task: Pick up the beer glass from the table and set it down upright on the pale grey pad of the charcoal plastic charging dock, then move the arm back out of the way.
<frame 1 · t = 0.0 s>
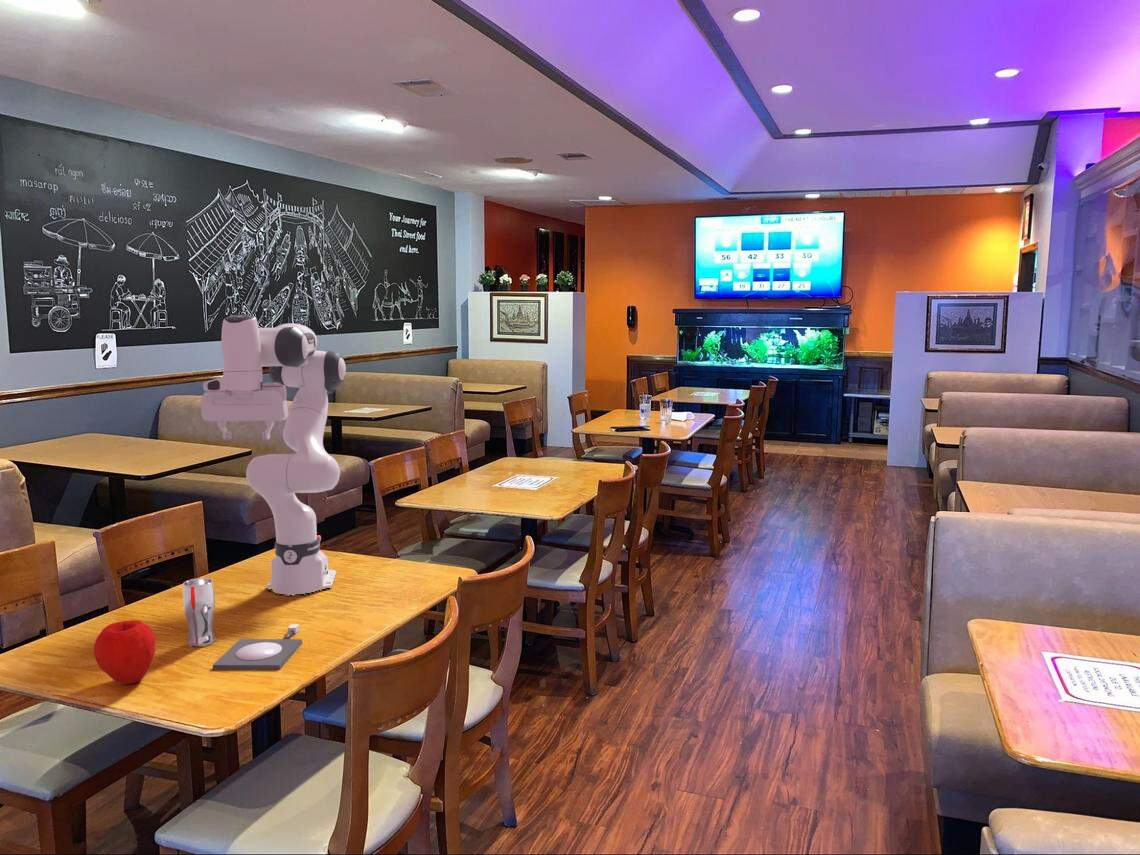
hand: (246, 439, 207), 48 cm above the table, tool pointing down, fingers open, 8 cm apart
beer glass: (202, 643, 205), on the table
charging dock: (259, 655, 196), on the table
apple: (128, 682, 183), on the table
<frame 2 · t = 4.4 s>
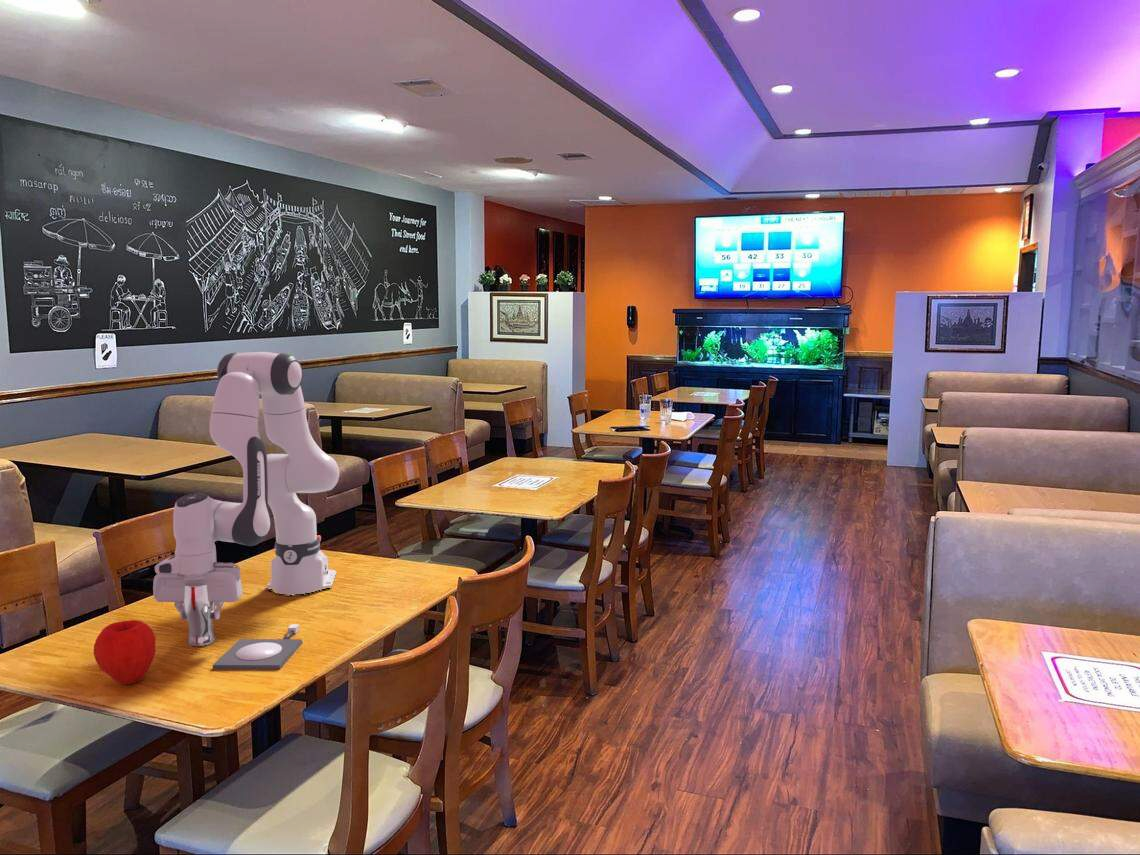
hand: (200, 618, 204), 6 cm above the table, tool pointing down, fingers closed on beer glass, 6 cm apart
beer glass: (202, 642, 205), on the table, touching gripper
everything else where it was.
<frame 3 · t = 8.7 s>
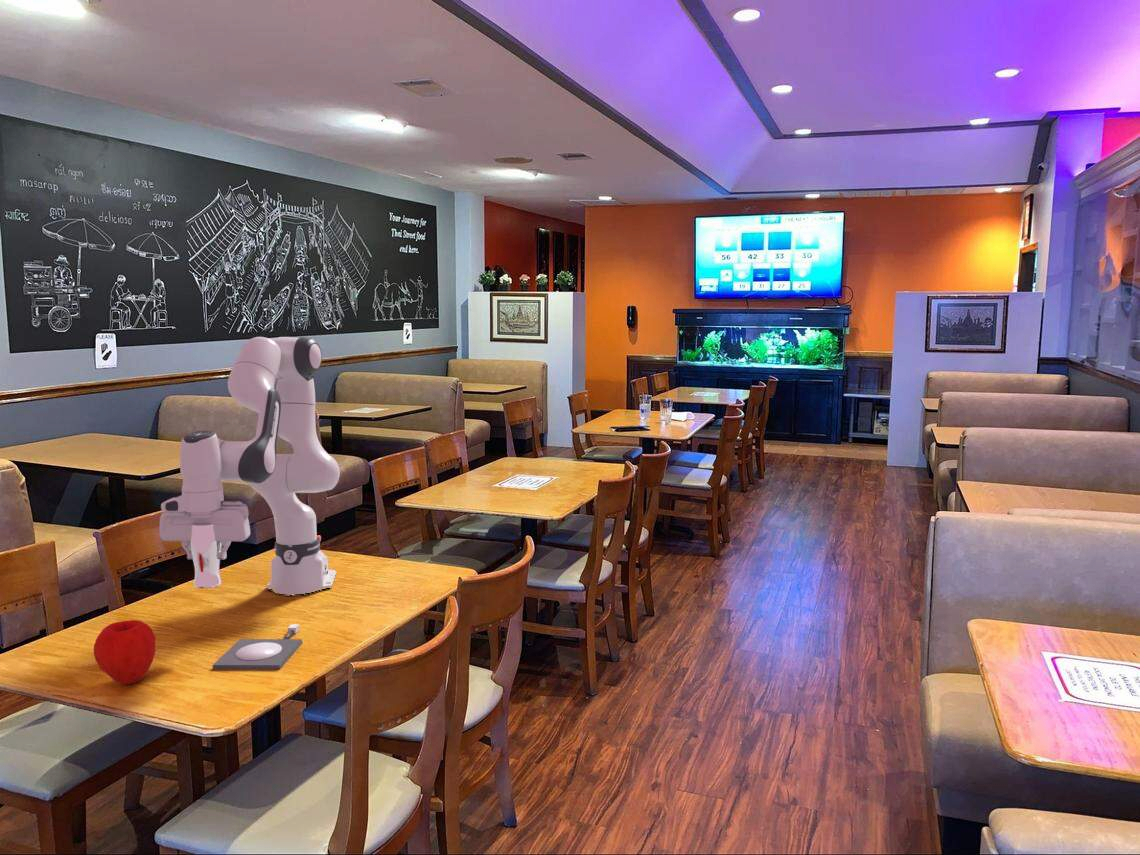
hand: (207, 558, 200), 21 cm above the table, tool pointing down, fingers closed on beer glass, 6 cm apart
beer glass: (207, 585, 200), point 15 cm above the table, touching gripper
everything else where it was.
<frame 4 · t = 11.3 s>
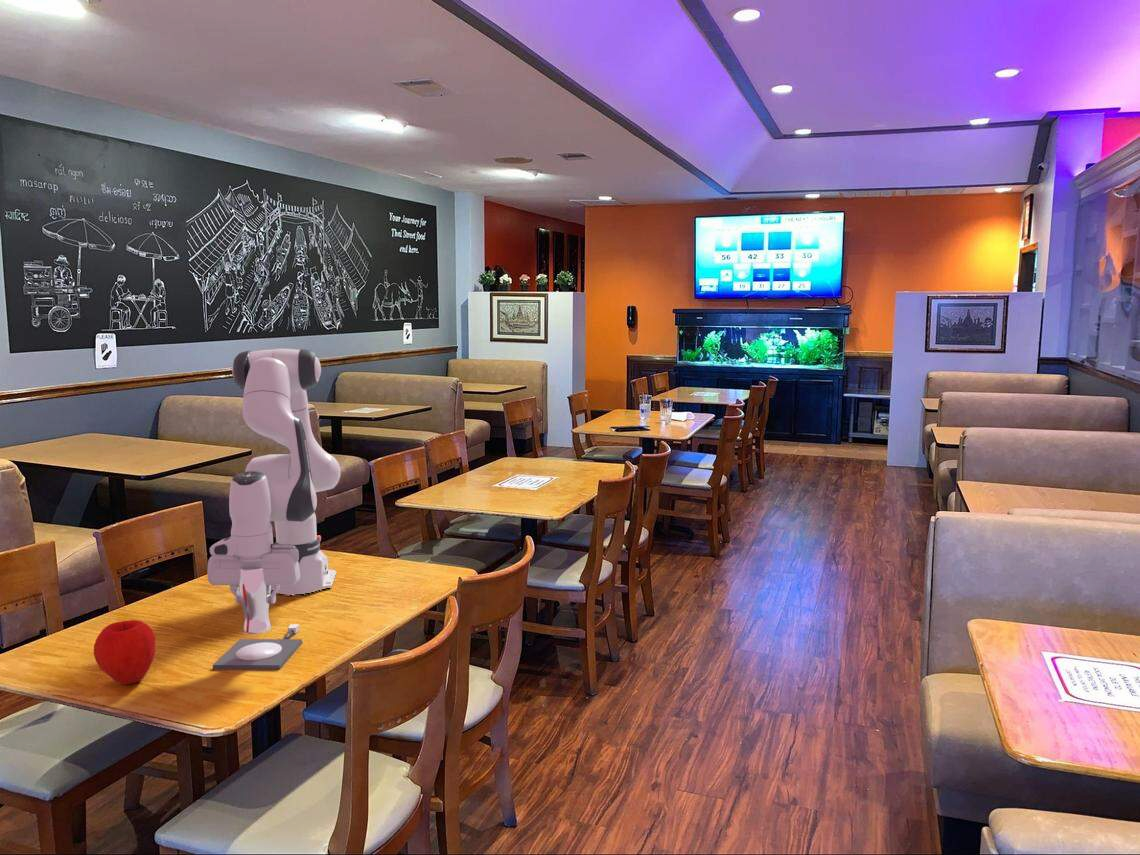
hand: (256, 602, 194), 13 cm above the table, tool pointing down, fingers closed on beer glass, 6 cm apart
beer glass: (257, 630, 195), point 6 cm above the table, touching gripper
everything else where it was.
when the fingers open (8 cm above the table, at t = 13.3 s): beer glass moves 2 cm, resting on charging dock.
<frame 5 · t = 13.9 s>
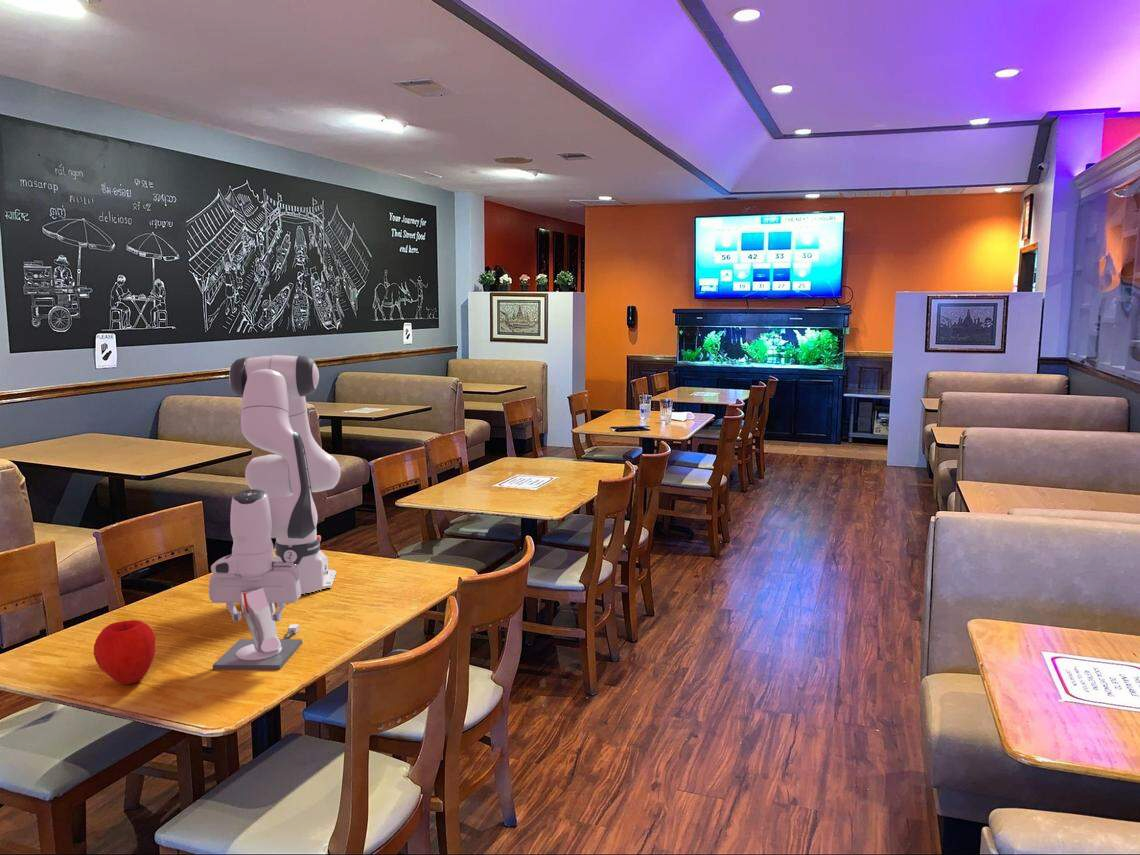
hand: (257, 620, 195), 8 cm above the table, tool pointing down, fingers open, 8 cm apart
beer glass: (268, 649, 196), point 1 cm above the table, touching charging dock, gripper
everything else where it was.
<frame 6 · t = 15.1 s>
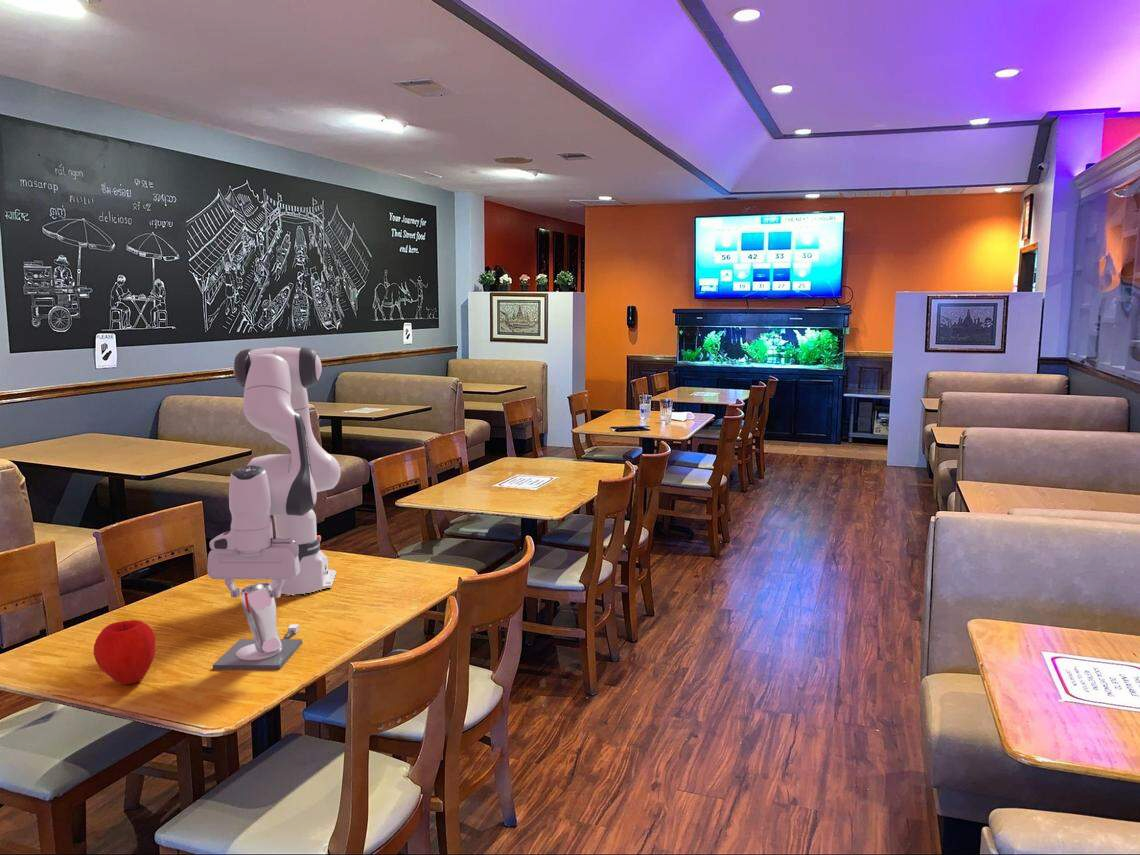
hand: (256, 596, 195), 14 cm above the table, tool pointing down, fingers open, 8 cm apart
nothing on the table moved.
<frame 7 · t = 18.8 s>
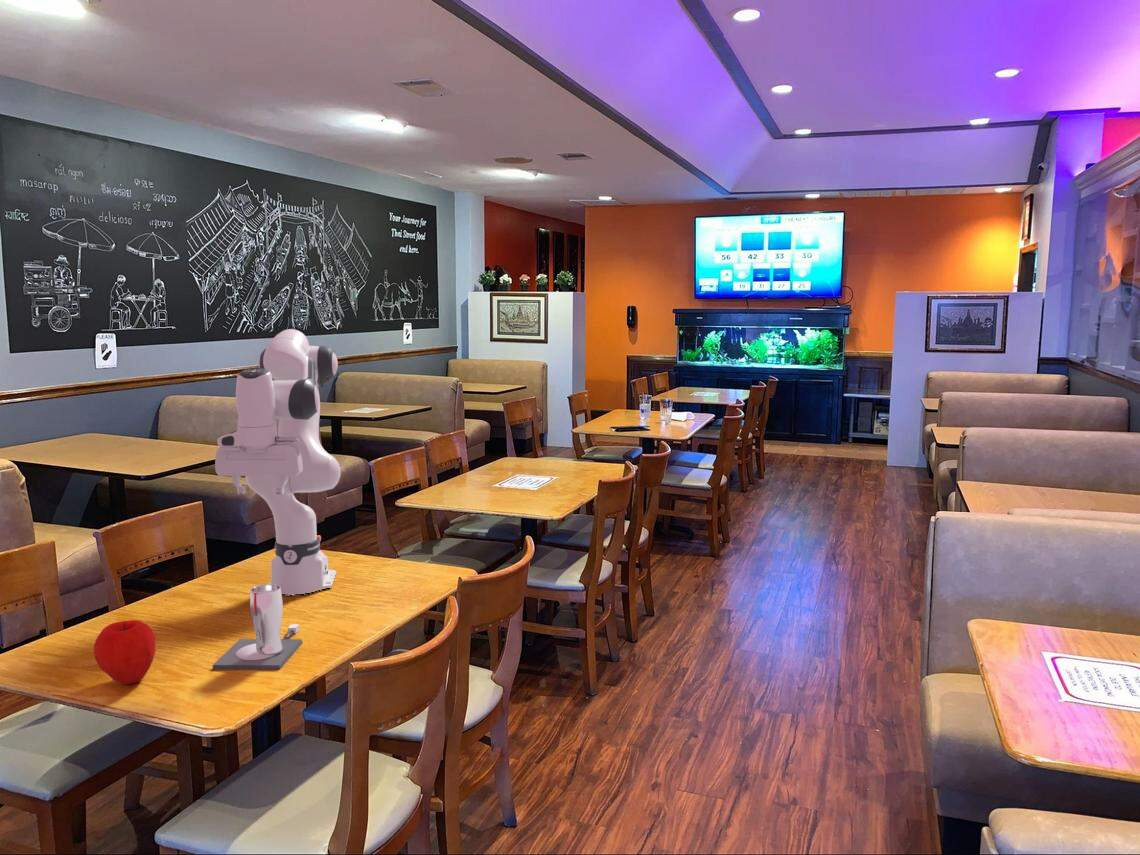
hand: (261, 493, 205), 35 cm above the table, tool pointing down, fingers open, 8 cm apart
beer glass: (269, 651, 196), point 1 cm above the table, touching charging dock
everything else where it was.
at the end: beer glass inside the target area on the charging dock (2.4 cm from its centre), point 1.0 cm above the charging dock's base; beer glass tilted 0°; the gripper is holding nothing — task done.
